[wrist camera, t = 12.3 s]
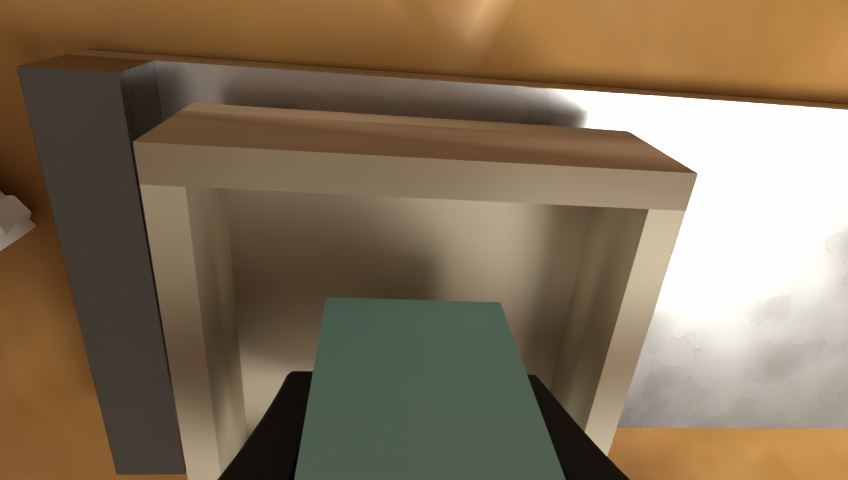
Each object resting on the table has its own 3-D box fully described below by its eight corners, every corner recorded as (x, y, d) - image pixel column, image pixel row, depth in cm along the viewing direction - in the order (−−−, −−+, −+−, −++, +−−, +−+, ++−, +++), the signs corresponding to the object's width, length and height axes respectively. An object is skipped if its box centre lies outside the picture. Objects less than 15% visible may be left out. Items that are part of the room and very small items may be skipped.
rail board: (846, 410, 22) (912, 471, 19) (154, 404, 19) (116, 474, 16) (1012, 116, 16) (1136, 142, 14) (88, 49, 14) (16, 66, 11)
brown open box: (543, 418, 19) (584, 528, 15) (235, 416, 18) (196, 534, 14) (614, 121, 14) (698, 173, 10) (204, 94, 13) (132, 141, 9)
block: (479, 429, 14) (524, 640, 10) (326, 428, 14) (299, 649, 9) (500, 302, 12) (569, 488, 8) (326, 297, 12) (292, 489, 7)
